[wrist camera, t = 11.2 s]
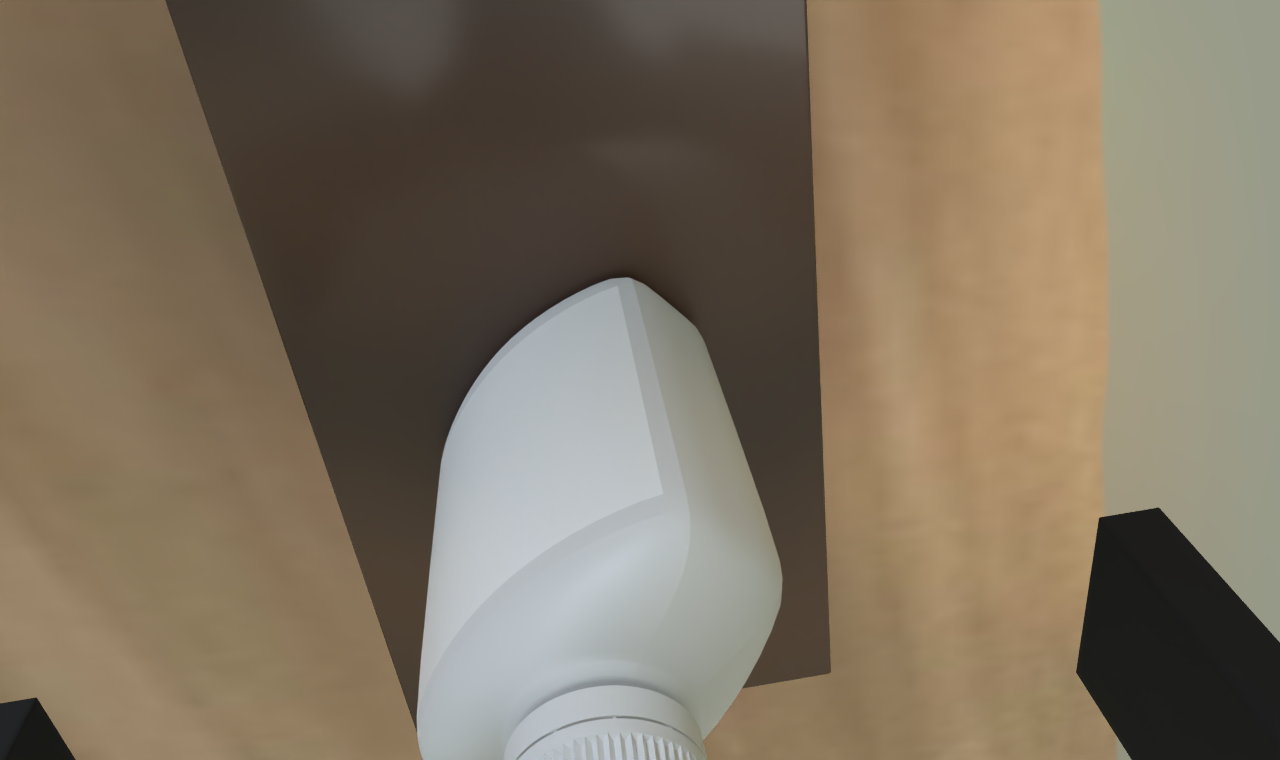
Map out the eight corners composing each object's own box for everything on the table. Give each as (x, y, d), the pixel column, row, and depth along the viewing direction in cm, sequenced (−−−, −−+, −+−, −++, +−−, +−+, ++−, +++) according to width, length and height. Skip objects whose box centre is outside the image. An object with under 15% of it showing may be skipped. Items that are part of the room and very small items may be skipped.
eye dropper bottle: (387, 345, 19) (235, 1015, 8) (674, 249, 18) (883, 822, 8) (476, 519, 21) (442, 1219, 11) (733, 436, 21) (958, 1075, 10)
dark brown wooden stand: (276, -117, 24) (140, -70, 15) (697, -178, 24) (801, -165, 15) (444, 495, 33) (420, 745, 24) (748, 446, 33) (831, 674, 24)
